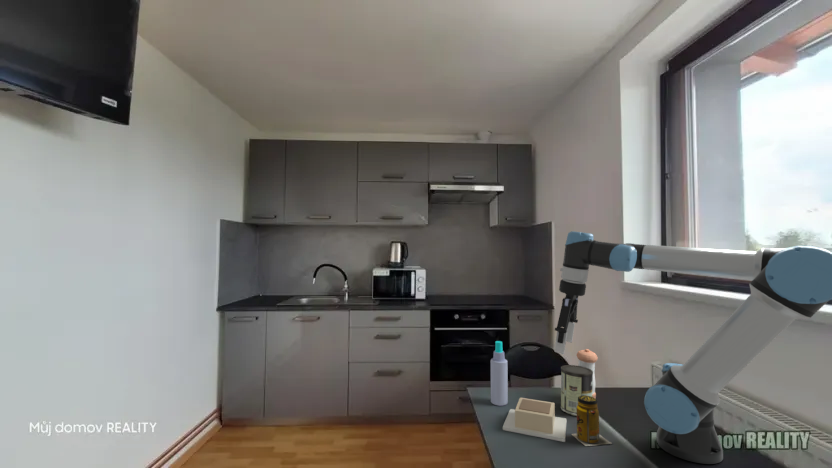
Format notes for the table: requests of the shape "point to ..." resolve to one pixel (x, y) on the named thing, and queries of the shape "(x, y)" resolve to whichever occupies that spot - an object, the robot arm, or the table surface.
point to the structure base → (554, 436)
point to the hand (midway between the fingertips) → (563, 346)
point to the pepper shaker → (588, 364)
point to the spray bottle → (499, 376)
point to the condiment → (588, 422)
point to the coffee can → (574, 386)
